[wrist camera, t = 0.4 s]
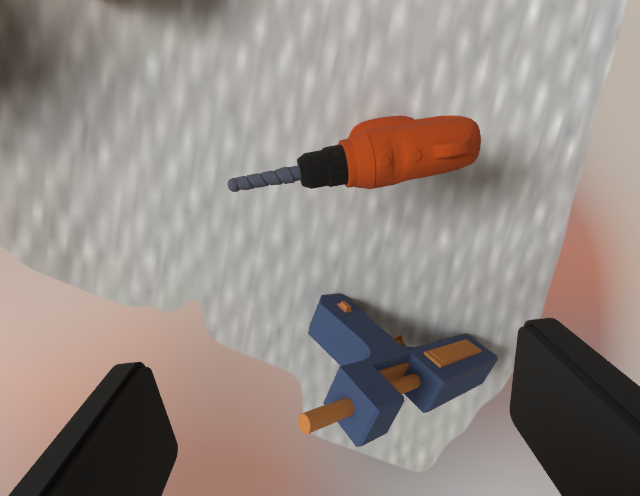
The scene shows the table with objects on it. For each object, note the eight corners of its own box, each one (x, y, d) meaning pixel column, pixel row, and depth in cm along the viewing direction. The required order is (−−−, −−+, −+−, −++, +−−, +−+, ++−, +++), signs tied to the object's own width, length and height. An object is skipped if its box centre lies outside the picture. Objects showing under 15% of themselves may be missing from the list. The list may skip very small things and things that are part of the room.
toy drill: (234, 143, 34) (211, 152, 19) (415, 111, 35) (514, 97, 21) (246, 191, 35) (232, 231, 21) (418, 159, 37) (512, 176, 23)
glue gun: (409, 308, 54) (496, 375, 44) (226, 354, 35) (307, 493, 24) (423, 275, 52) (519, 338, 41) (236, 304, 32) (330, 436, 22)
